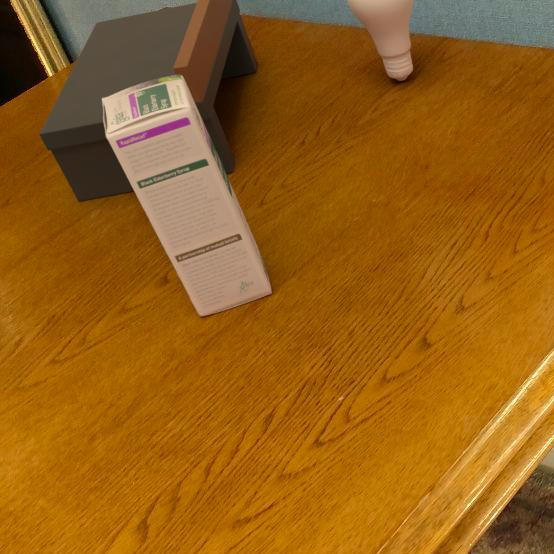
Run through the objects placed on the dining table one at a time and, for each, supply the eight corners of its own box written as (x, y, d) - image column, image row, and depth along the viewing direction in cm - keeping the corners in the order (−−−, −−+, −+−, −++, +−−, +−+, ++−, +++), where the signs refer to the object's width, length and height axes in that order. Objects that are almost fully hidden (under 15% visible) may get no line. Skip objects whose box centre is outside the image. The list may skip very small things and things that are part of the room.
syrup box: (275, 294, 73) (194, 102, 63) (197, 320, 73) (102, 130, 62) (262, 256, 77) (184, 68, 66) (188, 281, 76) (96, 95, 66)
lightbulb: (394, 101, 91) (360, -28, 83) (358, 84, 95) (322, -41, 87) (446, 74, 93) (418, -55, 85) (409, 58, 97) (378, -67, 89)
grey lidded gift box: (77, 204, 87) (18, 98, 80) (126, 87, 103) (81, -11, 96) (232, 175, 87) (187, 65, 80) (258, 62, 102) (222, -39, 95)
